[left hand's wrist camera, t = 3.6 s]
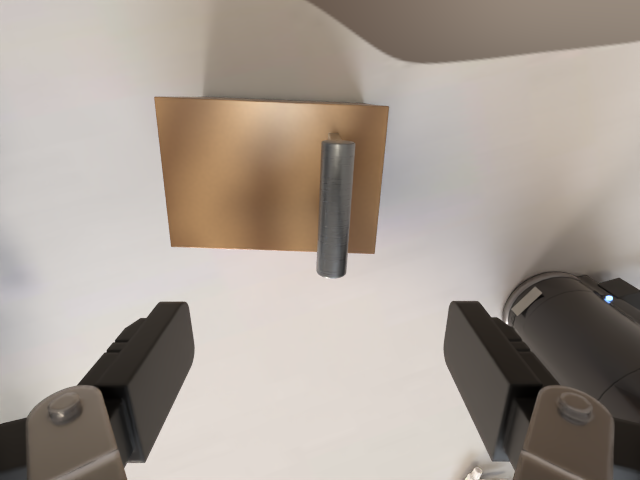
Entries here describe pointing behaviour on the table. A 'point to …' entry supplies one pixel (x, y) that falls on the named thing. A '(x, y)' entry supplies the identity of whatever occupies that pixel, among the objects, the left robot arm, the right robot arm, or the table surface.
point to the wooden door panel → (273, 175)
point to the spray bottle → (476, 474)
